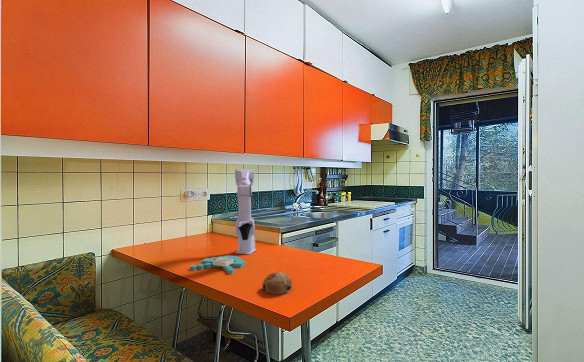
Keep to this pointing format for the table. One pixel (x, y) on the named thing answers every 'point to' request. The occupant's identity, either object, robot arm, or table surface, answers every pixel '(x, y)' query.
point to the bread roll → (277, 283)
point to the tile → (223, 262)
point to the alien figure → (208, 263)
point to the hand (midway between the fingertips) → (245, 239)
